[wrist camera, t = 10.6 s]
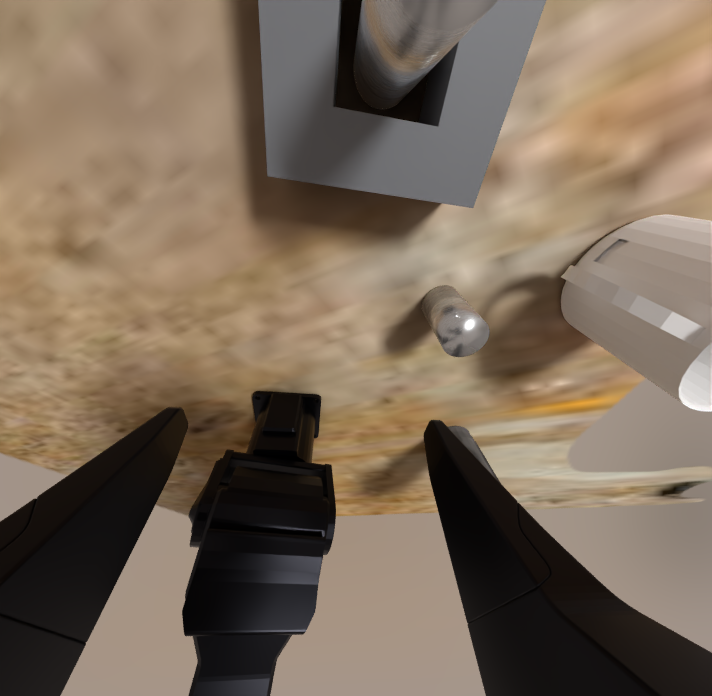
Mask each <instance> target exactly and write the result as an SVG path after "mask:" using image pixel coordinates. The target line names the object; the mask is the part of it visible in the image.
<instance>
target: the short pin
mask: <svg viewBox="0 0 712 696" xmlns="http://www.w3.org/2000/svg"><path fill="white" fill-rule="evenodd" d="M422 311H423V313H424V315H425V317H426V319H427V321H428V322H429V324H430V326H431V328H432V330H433V331H434V333H435V335H436V337H437V339H438V340H439V342H440V344H441V346H442V348H443V349H444V351H445V352H446V353H447V354H449V355H451V356H454V357H464V356H468V355H471V354H473V353H475V352H477V351H478V350H480V349H481V348H482V347H483V346H484V345H485V343H486V342H487V340H488V338H489V333H490V330H489V326H488V324H487V323H486V322H485V321H484V320H483V319H482V318H481V317H480V315H479V314H478V313H477V312H476V311H475V310H474V309H473V308H472V307H471V306H470V305H469V303H468V302H467V301H466V300H465V299H464V298H463V297H462V296H461V295H460V294H459V293H458V291H457V290H456V289H454V288H453V287H451V286H445V285H444V286H438V287H436V288H434V289H432V290H430V291H429V292H428V293H427V294H426V296H425V297H424V299H423V301H422Z"/></svg>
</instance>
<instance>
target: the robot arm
mask: <svg viewBox="0 0 712 696" xmlns="http://www.w3.org/2000/svg"><path fill="white" fill-rule="evenodd" d="M258 396H259V397H258ZM252 398H253V406H254V413H255V420H256V425H255V428H254V431H253V434H252V437H251V440H250V443H249V446H248V449H247V452H246V453H240V452H234V450H226V453H225V455H224V457H223V458H220V460H218V461H216V463H215V466H214V468H213V470H212V473H211V475H210V477H209V480H208V482H207V483H206V485H205V487H204V488H203V490H202V491H201V493H200V495H199V496H198V498H197V499H196V501H195V503H194V504H193V506H192V508H191V510H190V513H189V518H190V520H191V522H192V530H191V533H192V536H191V540H190V547H199V550H198V553H197V556H196V560H195V563H194V566H193V570H192V573H191V576H190V579H189V583H188V586H187V589H186V594H185V599H186V600H185V604H184V607H183V610H182V615H183V627H184V634H185V636H193V639H194V644H195V649H196V654H197V659H198V664H197V667H196V671H195V674H194V678H193V682H192V686H191V689H190V693H189V696H270V693H271V688H272V682H273V676H274V671H275V666H276V661H277V658H278V656H279V655H280V653H281V652H282V650H283V648H284V647H285V645H286V644H287V642H288V641H289V639H290V637H291V636H292V635H297V634H298V635H299V634H304V633H305V632H306V630H307V628H308V626H309V623H310V621H311V619H312V617H313V615H314V613H315V609H316V600H317V590H318V582H319V575H320V570H321V564H322V559H323V555H326V554H328V552H329V550H330V547H331V544H332V540H333V535H334V529H335V519H336V505H335V495H334V486H333V476H332V466H331V465H330V464H325V465H322V464H315V463H312V453H313V442H314V438H317V437H318V433H319V420H320V408H321V396H319V395H315V394H298V393H281V392H263V391H256V392H254V394H253V397H252ZM315 399H317V400H315ZM187 428H188V421H187V419H186V416H185V413H184V410H183V409H182V408H180V407H168V408H166V409H165V410H163V411H162V412H160V413H159V414H157V415H156V416H154V417H153V418H151V419H150V420H148V421H147V422H146V423H144V424H143V425H141V426H140V427H138V428H137V429H135V430H134V431H132V432H131V433H130V434H128V435H127V436H125V437H124V438H122V439H121V440H119V441H118V442H116V443H115V444H113V445H112V446H111V447H109V448H108V449H106V450H105V451H103V452H102V453H100V454H99V455H97V456H96V457H95V458H93V459H92V460H90V461H89V462H87V463H86V464H84V465H83V466H81V467H80V468H78V469H77V470H76V471H74V472H73V473H71V474H70V475H68V476H67V477H65V478H64V479H62V480H61V481H59V482H58V483H57V484H55V485H54V486H52V487H51V488H49V489H48V490H46V491H45V492H44V493H42V494H41V495H39V496H38V497H37V499H33V500H32V501H30V502H29V503H27V504H26V505H25V506H23V507H21V508H20V509H18V510H17V511H16V512H14V513H13V514H11V515H10V516H8V517H7V518H5V519H4V520H2V521H1V522H0V696H60V695H61V693H62V691H63V689H64V687H65V685H66V683H67V681H68V679H69V677H70V675H71V673H72V671H73V669H74V667H75V665H76V663H77V661H78V659H79V657H80V655H81V653H82V651H83V649H84V647H85V645H86V642H87V641H88V639H89V637H90V635H91V632H92V630H93V629H94V626H95V625H96V622H97V621H98V619H99V617H100V615H101V612H102V610H103V608H104V606H105V604H106V602H107V600H108V598H109V596H110V594H111V592H112V590H113V588H114V586H115V584H116V582H117V580H118V578H119V576H120V574H121V572H122V570H123V568H124V566H125V564H126V562H127V560H128V558H129V556H130V554H131V552H132V550H133V548H134V546H135V544H136V542H137V540H138V538H139V536H140V534H141V532H142V530H143V528H144V526H145V524H146V522H147V520H148V518H149V516H150V514H151V512H152V510H153V508H154V506H155V504H156V502H157V500H158V498H159V496H160V494H161V492H162V490H163V488H164V486H165V484H166V482H167V480H168V478H169V476H170V474H171V471H172V469H173V466H174V464H175V461H176V458H177V456H178V453H179V450H180V448H181V445H182V442H183V440H184V437H185V434H186V431H187ZM424 443H425V450H426V457H427V463H428V470H429V476H430V481H431V485H432V489H433V492H434V496H435V500H436V504H437V508H438V512H439V515H440V520H441V523H442V527H443V531H444V535H445V539H446V543H447V547H448V550H449V554H450V558H451V562H452V566H453V570H454V573H455V577H456V581H457V585H458V589H459V593H460V596H461V600H462V604H463V608H464V612H465V616H466V620H467V623H468V628H469V632H470V636H471V640H472V643H473V648H474V651H475V655H476V659H477V663H478V666H479V671H480V675H481V678H482V682H483V686H484V690H485V694H486V696H712V653H711V652H710V651H708V650H706V649H704V648H702V647H701V646H699V645H697V644H695V643H693V642H692V641H690V640H688V639H686V638H684V637H682V636H681V635H679V634H677V633H676V632H674V631H672V630H670V629H668V628H667V627H665V626H663V625H661V624H659V623H658V622H656V621H654V620H652V619H651V618H649V617H647V616H645V615H643V614H642V613H640V612H638V611H637V610H635V609H633V608H632V607H630V606H629V605H627V604H626V603H625V602H623V601H622V600H620V599H619V598H618V597H617V596H615V595H614V594H613V593H612V592H611V591H609V590H608V589H607V588H606V587H605V586H604V585H603V584H602V583H601V582H599V581H598V580H597V579H596V578H595V577H594V576H593V575H592V574H591V573H590V572H589V571H588V570H587V569H586V568H585V567H583V566H582V565H581V564H580V563H579V562H578V561H577V560H576V559H575V558H574V557H573V556H572V555H571V554H570V553H569V552H567V551H566V550H565V549H564V548H563V547H562V546H561V545H560V544H559V543H558V542H557V541H556V540H555V539H554V538H553V537H552V536H551V535H550V534H549V533H548V532H547V531H546V530H544V529H543V527H542V526H540V525H539V523H538V522H537V521H536V520H535V519H534V518H533V517H532V516H531V515H530V514H529V513H528V512H527V511H526V510H525V509H524V508H523V507H522V506H521V505H520V504H519V503H517V500H516V499H515V498H514V497H513V496H512V495H511V494H510V493H509V492H508V491H507V490H506V489H505V488H504V487H503V486H502V485H501V483H500V482H499V481H498V480H497V479H496V478H495V477H494V476H493V475H492V474H491V473H490V472H489V471H488V470H487V469H486V468H485V466H484V465H483V464H482V463H481V462H480V461H479V460H478V459H477V458H476V457H475V456H474V455H473V454H472V453H471V452H470V450H469V449H468V448H467V447H466V446H465V445H464V444H463V443H462V442H461V441H460V440H459V439H458V438H457V437H456V436H455V435H454V433H453V432H452V431H451V430H450V429H449V428H448V427H447V426H446V425H445V424H444V423H443V422H442V421H440V420H431V421H429V423H428V426H427V428H426V430H425V432H424Z"/></svg>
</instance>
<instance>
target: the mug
mask: <svg viewBox="0 0 712 696" xmlns="http://www.w3.org/2000/svg"><path fill="white" fill-rule="evenodd" d="M561 278H563V279H565V280H566V282H565V285H564V287H563V290H562V295H561V310H562V313H563V316H564V318H565V320H566V321H567V322H568V324H570V325H571V326H573V327H574V328H575V329H577V330H578V331H580V332H581V333H583V334H584V335H585V336H587V337H588V338H590V339H591V340H593V341H594V342H595V343H597V344H598V345H600V346H601V347H603V348H604V349H605V350H607V351H608V352H610V353H611V354H613V355H614V356H615V357H617V358H618V359H620V360H621V361H623V362H624V363H625V364H627V365H628V366H630V367H631V368H633V369H634V370H635V371H637V372H638V373H640V374H641V375H643V376H644V377H645V378H647V379H648V380H650V381H651V382H653V383H654V384H655V385H657V386H658V387H660V388H661V389H663V390H664V391H665V392H667V393H668V394H670V395H671V396H673V397H674V398H675V399H677V400H678V401H680V402H681V403H683V404H684V405H686V406H687V407H689V408H691V409H694V410H698V411H712V221H709V220H702V219H696V218H689V217H683V216H676V215H668V214H666V215H656V216H651V217H648V218H644V219H641V220H637V221H635V222H632V223H630V224H628V225H625V226H623V227H621V228H619V229H617V230H615V231H614V232H612V233H611V234H609V235H607V236H606V237H604V238H603V239H602V240H601V241H599V242H598V243H597V244H595V245H594V246H593V247H592V248H591V249H590V250H589V251H588V252H587V253H586V254H585V255H584V256H583V257H582V258H581V259H580V260H579V262H578V263H577V264H576V265H575V266H573V265H570V266H569V268H568V269H567V270H566V272H565V273H564V274H563V275H562V276H561Z"/></svg>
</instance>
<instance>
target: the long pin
mask: <svg viewBox="0 0 712 696" xmlns="http://www.w3.org/2000/svg"><path fill="white" fill-rule="evenodd" d="M497 1H498V0H362V5H361V12H360V19H359V27H358V34H357V42H356V49H355V56H354V66H353V70H354V80H355V84H356V87H357V90H358V92H359V94H360V96H361V97H362V99H363V100H364V101H365V102H366V103H367V104H368V105H369V106H371V107H373V108H375V109H378V110H386V109H390V108H392V107H394V106H395V105H397V104H398V103H399V102H400V101H401V100H402V99H403V98H404V97H405V96H406V95H407V94H408V93H409V92H410V91H411V90H412V89H413V88H414V87H415V86H416V85H417V84H418V83H419V82H420V81H421V80H422V79H423V78H424V77H425V75H426V74H427V73H428V72H429V71H430V70H431V69H432V68H433V67H434V66H435V65H436V64H437V63H438V62H439V61H440V60H441V59H442V58H443V57H444V56H445V55H446V54H447V53H448V52H449V51H450V50H451V49H452V48H453V47H454V46H455V45H456V44H457V43H458V42H459V40H460V39H461V38H462V37H463V36H464V35H465V34H466V33H467V32H468V31H469V30H470V29H471V28H472V27H473V26H474V25H475V24H476V23H477V22H478V21H479V20H480V19H481V18H482V17H483V16H484V15H485V14H486V13H487V12H488V11H489V10H490V9H491V7H492V6H493V5H494V4H495V3H496V2H497Z"/></svg>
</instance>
